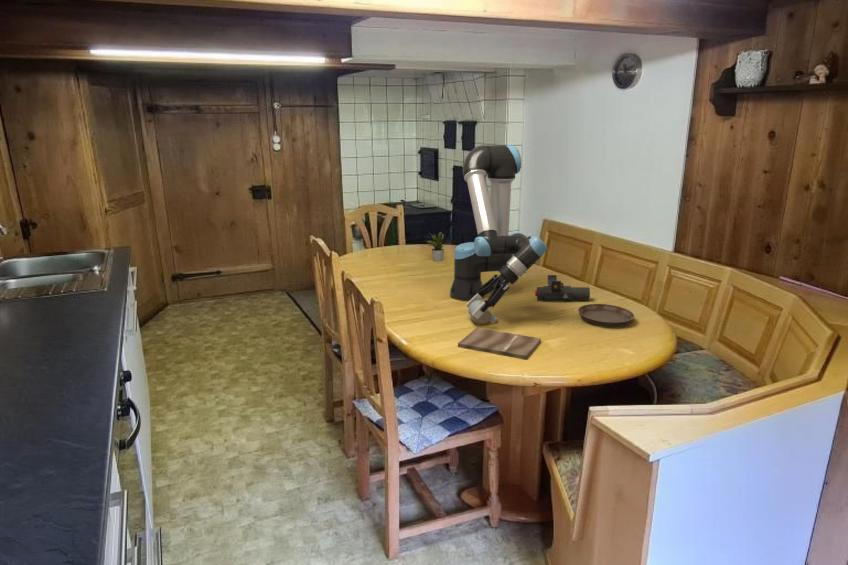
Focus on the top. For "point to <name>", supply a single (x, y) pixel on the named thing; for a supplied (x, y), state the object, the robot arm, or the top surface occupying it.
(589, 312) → the plant saucer
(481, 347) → the board
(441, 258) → the house plant
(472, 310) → the ceramic mug
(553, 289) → the laser sight
